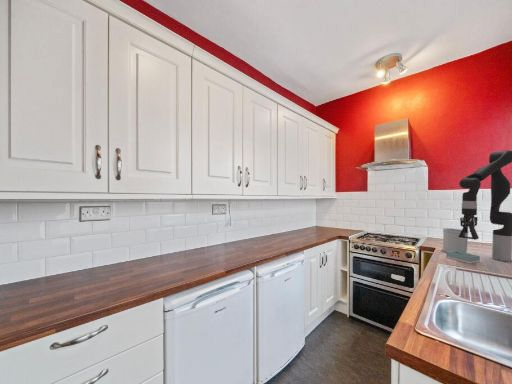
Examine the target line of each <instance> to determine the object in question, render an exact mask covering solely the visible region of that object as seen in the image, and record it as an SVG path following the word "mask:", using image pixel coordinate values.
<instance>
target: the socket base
mask: <svg viewBox="0 0 512 384" xmlns="http://www.w3.org/2000/svg"><path fill="white" fill-rule="evenodd" d="M445 254H446V255H445V257H446V258H448V259H452V260H455V261H459V262H464V263H467V264H473V263H480V258H481V257H480V256H481V255H478V254H473V253H468V252H467V253H465V252H460V251H448V252H445Z"/></svg>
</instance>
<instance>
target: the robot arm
mask: <svg viewBox="0 0 512 384" xmlns="http://www.w3.org/2000/svg"><path fill="white" fill-rule="evenodd" d="M488 158H489V159H488V162H489V163H488V164H485V165H483V166H481V167H479V168H478V169H477V170H475V171H474V172H473V173H471V174H469V175H466V176H464V177H463V178H462V179H460V181H459V184H458V185H459V187H460V188H461V189H466V190H467V189H468V191H464V192H463V193H462V198H461V199H462V201H461V215H463V217H462V216H461V217H460V218H459V222H460V227H462V229H463V233H468V234H469V232H468V231H469V230H468V229H469V226H468V225H469V224H470V222H471V221H472V222H473V226H474V228H475V227H477V225H478V220H479V219H478V216H477V215H478V202H477V199H478V193H479V191H480V188H481V185H482V184H481V182H482V181H484V180H486V179H487V178H488V177H489V176H490V210H489V221H490V223H491V224H492V225H497V226H499V225H500V226H503V227H502V228H498V229H493V230H492V243H491V244H492V247H491V250H492V251H491V258H492V259H493V260H496V261H500V262H512V212H510V211H500V208H501V205H502V204H503V202H504V201H505V200H506V199H507V198H508V197H509V196H510V194H511V181H509V179H508V177H506V176H505V175H504V173H503V172H502V168H504V167H506V166H507V165H509V164H511V163H512V150H498V151H492V152H491V153H490V155H489V157H488ZM466 220H467V221H466ZM469 221H470V222H469ZM467 227H468V228H467Z"/></svg>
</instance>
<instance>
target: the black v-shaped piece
mask: <svg viewBox="0 0 512 384" xmlns="http://www.w3.org/2000/svg"><path fill="white" fill-rule="evenodd" d="M466 221H467V220H466ZM469 222H470V221H469ZM467 228H468V229H469V232H470V234H471V236H468V237H467V236H465V234H466V233H463V228H462V231H461V233H460V235H459V236H458V237H460V238H467V239H468V240H478V239H480V238H479V235H478V233H477V231H476V229H475V227H474V226H473V222H472V221H471V222H470V224H469V225H468V227H467Z"/></svg>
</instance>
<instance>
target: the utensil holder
mask: <svg viewBox="0 0 512 384" xmlns="http://www.w3.org/2000/svg"><path fill="white" fill-rule="evenodd" d="M462 229H463V228H462ZM462 229H461V228H454V227H453V228H452V227H445V228H444V227H443V228H442V230H443V231H442V234H443V235H442V237H443V238H442V251H443V252H445V253H446V252H448V251H460V252H465V253H468V251H467V250H468V240H469V239H467V238H460V237H458V236H459V235H460V233H461V231H462ZM469 232H470V230H468V233H466V234H465V236H467V237H469Z"/></svg>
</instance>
